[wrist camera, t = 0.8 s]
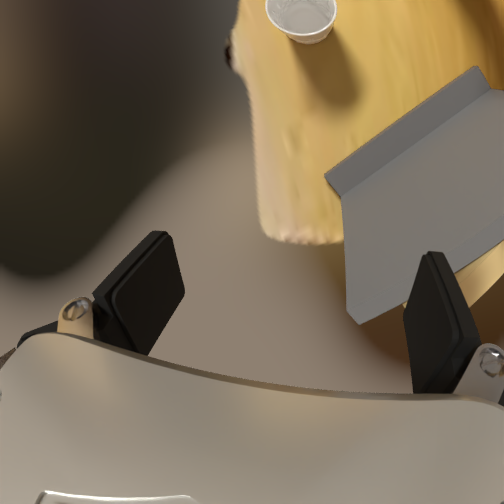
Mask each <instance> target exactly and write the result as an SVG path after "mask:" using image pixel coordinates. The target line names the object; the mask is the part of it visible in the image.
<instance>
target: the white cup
mask: <svg viewBox="0 0 504 504" xmlns="http://www.w3.org/2000/svg"><path fill="white" fill-rule="evenodd" d="M265 8H266V13H267V16H268V18H269V19H270V21H271V22H272V23H273V24H274V25H275V26H276V27H277V28H278V29H279V30H281V31H282V32H283V33H284V34H285V35H287V36H288V37H289V38H291V39H293V40H295V41H296V42H298V43H303V44H314V43H319V42H320V41H322V40H323V39H325V38H326V37H327V35H328V34H329V32H330V31H331V29H332V27H333V24H334V21H335V18H336V15H337V4H336V1H335V0H266V5H265Z"/></svg>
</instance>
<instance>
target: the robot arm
mask: <svg viewBox="0 0 504 504" xmlns="http://www.w3.org/2000/svg"><path fill="white" fill-rule="evenodd" d="M92 294H93V296H94V298H95V300H94V301H93V302H92V301H91V300H90V299H89V298H87V297H79V298H75V299H73V300H71V301H69V302H68V303H66V304H65V305H64V306H63V307H62V309H61V311H60V313H59V319H58V321H55V322H53V323H50V324H48V325H45V326H42V327H40V328H37V329H34V330H32V331H30V332H27V333H25V334H24V335H23V336H22V337H21V339H20V341H19V342H18V345H17V350H16V349H15V348H13V349H12V350H10V351H9V352H7V353H6V354H4V355H3V356H1V357H0V504H504V351H503V350H502V349H501V348H499V347H498V346H496V345H493V344H483V345H482V344H481V340H480V336H479V333H478V330H477V327H476V325H475V322H474V319H473V317H472V314H471V312H470V309H469V307H468V304H467V302H466V300H465V297H464V295H463V293H462V290H461V288H460V286H459V284H458V281H457V279H456V277H455V275H454V273H453V271H452V269H451V267H450V265H449V263H448V261H447V259H446V257H445V255H444V253H443V252H437V251H428V252H427V253H426V255H425V254H423V255H422V257H421V260H420V264H419V267H418V271H417V274H416V277H415V280H414V284H413V287H412V290H411V293H410V296H409V299H408V301H407V304H406V307H405V310H404V314H403V321H404V326H405V332H406V338H407V345H408V351H409V358H410V367H411V376H412V384H413V394H393V393H366V392H364V393H363V392H347V391H333V390H322V389H312V388H303V387H295V386H287V385H279V384H273V383H266V382H260V381H254V380H248V379H243V378H237V377H232V376H227V375H222V374H217V373H213V372H208V371H203V370H199V369H195V368H191V367H186V366H182V365H178V364H174V363H170V362H167V361H163V360H159V359H156V358H152V357H149V356H148V354H149V352H150V351H151V349H152V347H153V346H154V344H155V342H156V340H157V339H158V337H159V336H160V334H161V333H162V331H163V329H164V328H165V326H166V324H167V323H168V321H169V319H170V318H171V316H172V315H173V313H174V311H175V310H176V308H177V306H178V305H179V303H180V302H181V300H182V299H183V297H184V294H185V288H184V284H183V280H182V276H181V273H180V268H179V265H178V260H177V257H176V252H175V248H174V244H173V239H172V237H171V236H170V235H169V234H168V233H167V232H166V231H152V232H150V233H149V234H148V235H147V236H146V237H145V238H144V239H143V240H142V241H141V242H140V243H139V244H138V245H137V246H136V247H135V248H134V249H133V250H132V251H131V252H130V253H129V255H127V257H125V258H124V259H123V260H122V261H121V263H120V264H119V265H118V266H117V267H116V268H115V269H114V270H113V271H112V272H111V273H110V274H109V275H108V276H107V277H106V279H104V281H103V282H102V283H101V284H100V285H99V286H98V287H97V288H96V289H95V291H93V293H92Z"/></svg>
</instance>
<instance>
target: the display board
mask: <svg viewBox="0 0 504 504" xmlns="http://www.w3.org/2000/svg"><path fill="white" fill-rule="evenodd" d="M324 177H325V179H326V180H327V181H328V182H329V183H330V185H331V186H332V187H333V188H334V189H335V191H336V192H337V193H338V194H339V196H340V197H341V206H342V218H343V230H344V245H345V265H346V294H347V312H348V313H349V314H350V315H351V316H352V318H353V319H354V320H355V321H356V322H357V323H358V324H359V325H360V324H362V323H364V322H366V321H368V320H370V319H372V318H374V317H376V316H378V315H380V314H382V313H384V312H386V311H388V310H390V309H392V308H394V307H396V306H398V305H400V304H402V303H403V302H405V301H407V300H408V299H409V296H410V293H411V290H412V287H413V284H414V280H415V277H416V274H417V271H418V267H419V264H420V260H421V257H422V255H423V254H425V255H426V253H427V252H428V251H437V252H443V253H444V255H445V257H446V259H447V261H448V263H449V265H450V267H451V269H452V271H453V273H455V272H457V271H458V270H460V269H461V268H463V267H464V266H466V265H468V264H469V263H471V262H472V261H474V260H475V259H477V258H478V257H480V256H481V255H482V254H484V253H485V252H487V251H488V250H490V249H491V248H492V247H494V246H495V245H497V244H498V243H499V242H501V241H502V240H504V90H497V89H491V88H490V86H489V84H488V82H487V80H486V79H485V77H484V75H483V74H482V72H481V70H480V69H479V67H478V66H473V67H472V68H470V69H469V70H467V71H466V72H464V73H463V74H461V75H460V76H459V77H457V78H456V79H454V80H453V81H451V82H450V83H449V84H447V85H446V86H444V87H443V88H441V89H440V90H439V91H437V92H436V93H434V94H433V95H432V96H430V97H429V98H427V99H426V100H425V101H423V102H422V103H420V104H419V105H418V106H416V107H415V108H413V109H412V110H411V111H409V112H408V113H406V114H405V115H404V116H402V117H401V118H400V119H398V120H397V121H395V122H394V123H393V124H391V125H390V126H389V127H387V128H386V129H384V130H383V131H382V132H380V133H379V134H378V135H376V136H375V137H374V138H372V139H371V140H370V141H368V142H367V143H365V144H364V145H363V146H361V147H360V148H359V149H357V150H356V151H355V152H353V153H352V154H351V155H349V156H348V157H347V158H345V159H344V160H343V161H341V162H340V163H339V164H337V165H336V166H335V167H333V168H332V169H331V170H329V171H328V172H327V173H325V174H324Z"/></svg>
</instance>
